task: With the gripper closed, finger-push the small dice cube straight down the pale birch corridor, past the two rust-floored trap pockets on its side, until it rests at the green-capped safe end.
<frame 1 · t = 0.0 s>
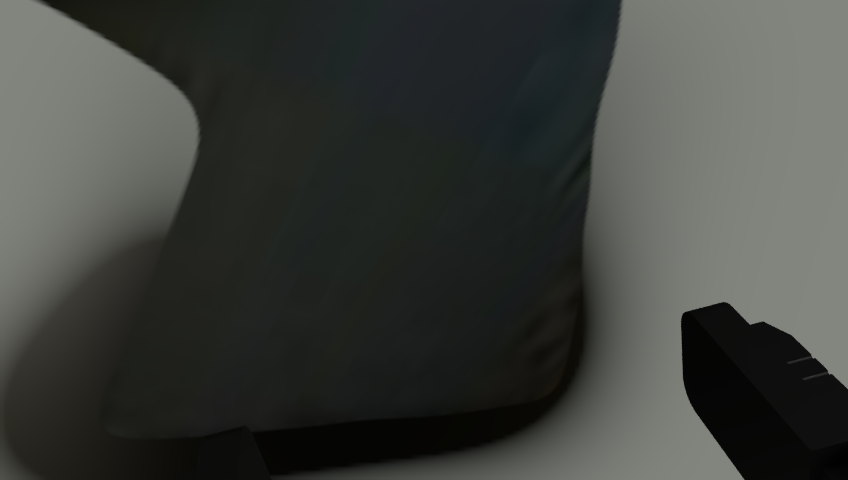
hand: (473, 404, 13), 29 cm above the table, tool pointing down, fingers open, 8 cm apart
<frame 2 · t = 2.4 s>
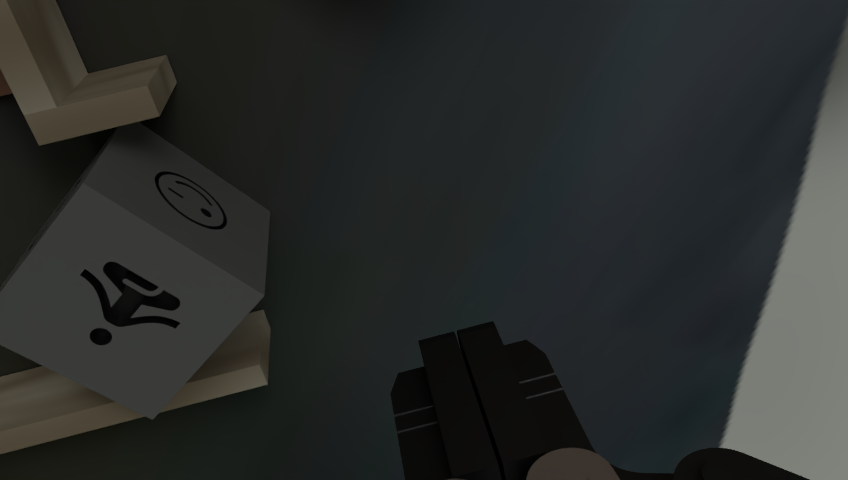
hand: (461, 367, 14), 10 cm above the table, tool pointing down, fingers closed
dice cube: (156, 220, 23), on the table
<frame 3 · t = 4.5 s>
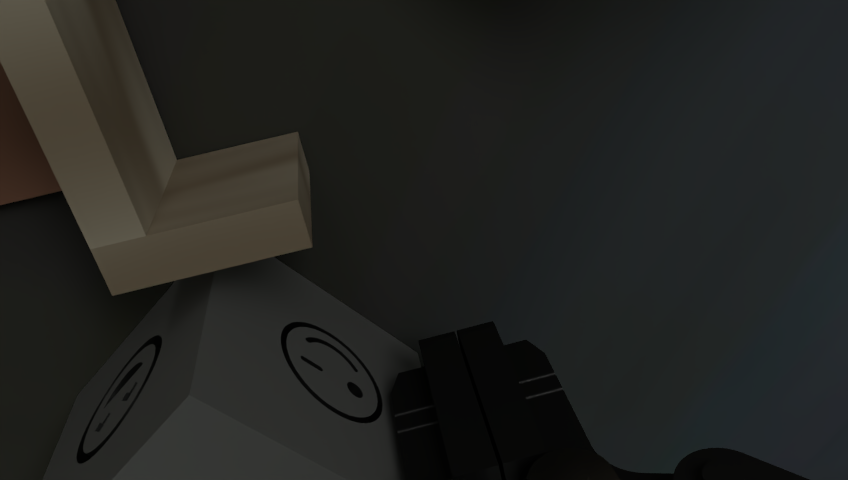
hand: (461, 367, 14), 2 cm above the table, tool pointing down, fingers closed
dice cube: (252, 367, 15), on the table, touching gripper
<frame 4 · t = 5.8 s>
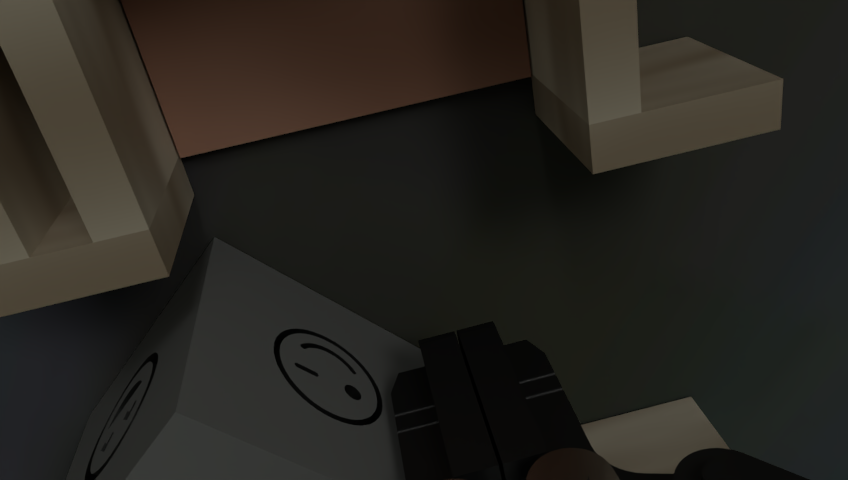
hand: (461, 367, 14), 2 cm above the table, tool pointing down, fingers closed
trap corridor: (72, 367, 15), on the table
dice cube: (258, 376, 16), on the table, touching gripper
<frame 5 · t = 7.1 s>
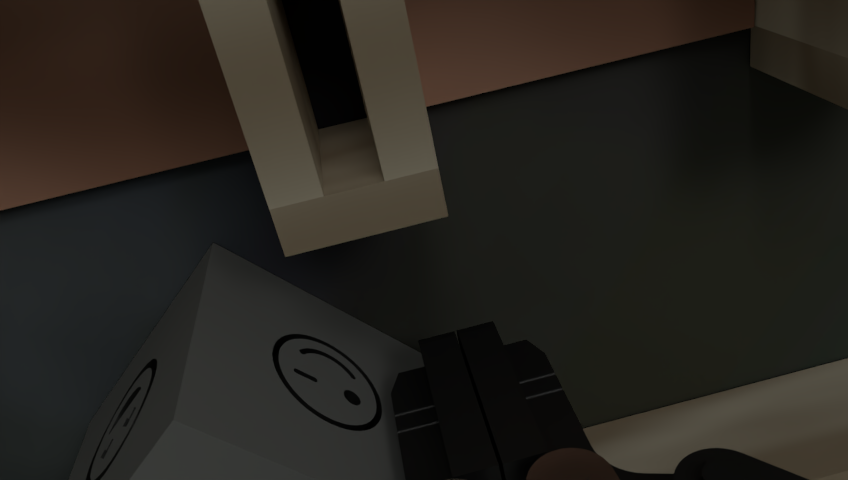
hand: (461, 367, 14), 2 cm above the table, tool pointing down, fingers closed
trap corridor: (281, 323, 15), on the table
dice cube: (258, 380, 16), on the table, touching gripper
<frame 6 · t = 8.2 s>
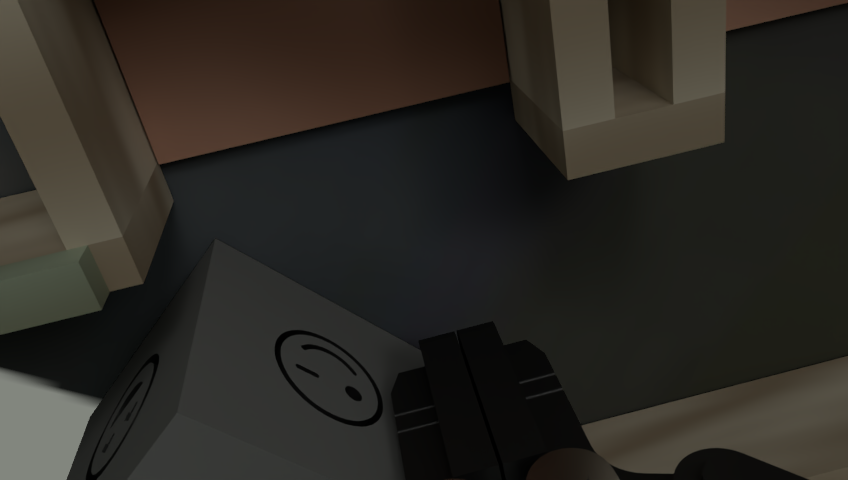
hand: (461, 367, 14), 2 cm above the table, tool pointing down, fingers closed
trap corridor: (486, 266, 15), on the table
dice cube: (259, 377, 16), on the table, touching gripper
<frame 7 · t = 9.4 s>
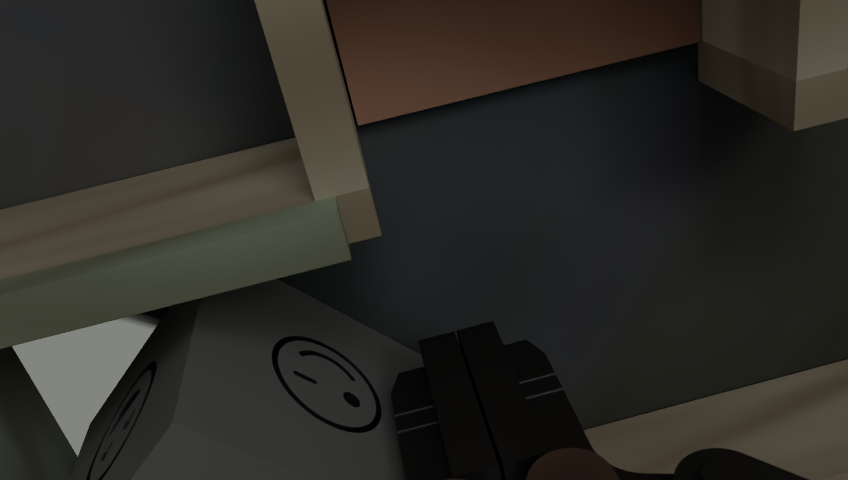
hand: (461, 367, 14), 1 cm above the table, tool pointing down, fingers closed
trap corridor: (654, 230, 15), on the table
dice cube: (258, 382, 16), on the table, touching gripper
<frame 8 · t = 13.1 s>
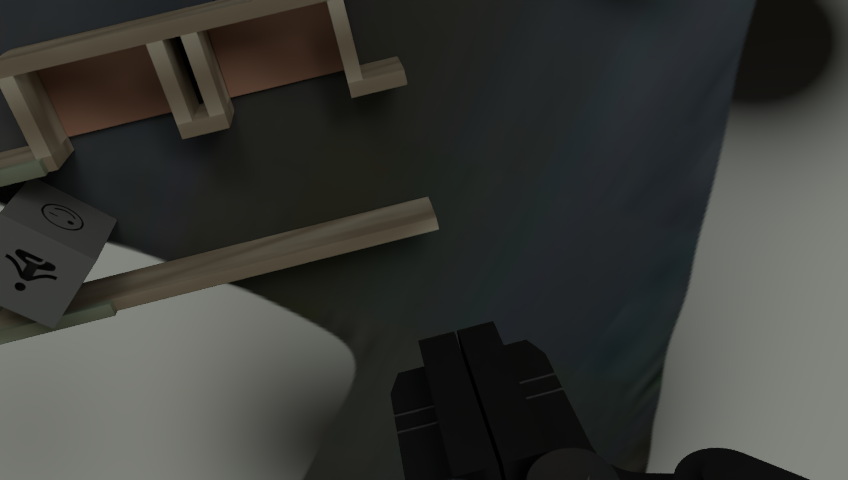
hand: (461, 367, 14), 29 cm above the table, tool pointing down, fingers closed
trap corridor: (191, 174, 41), on the table
dice cube: (57, 229, 42), on the table
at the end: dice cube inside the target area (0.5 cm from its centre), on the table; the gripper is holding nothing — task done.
